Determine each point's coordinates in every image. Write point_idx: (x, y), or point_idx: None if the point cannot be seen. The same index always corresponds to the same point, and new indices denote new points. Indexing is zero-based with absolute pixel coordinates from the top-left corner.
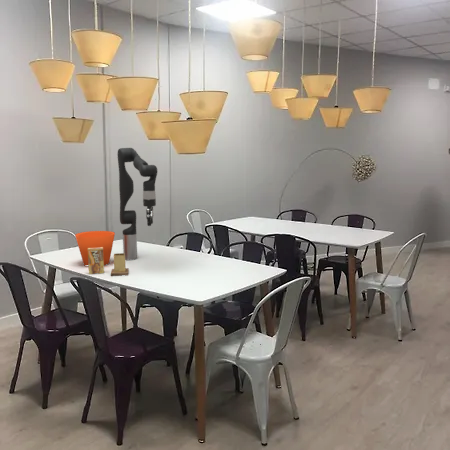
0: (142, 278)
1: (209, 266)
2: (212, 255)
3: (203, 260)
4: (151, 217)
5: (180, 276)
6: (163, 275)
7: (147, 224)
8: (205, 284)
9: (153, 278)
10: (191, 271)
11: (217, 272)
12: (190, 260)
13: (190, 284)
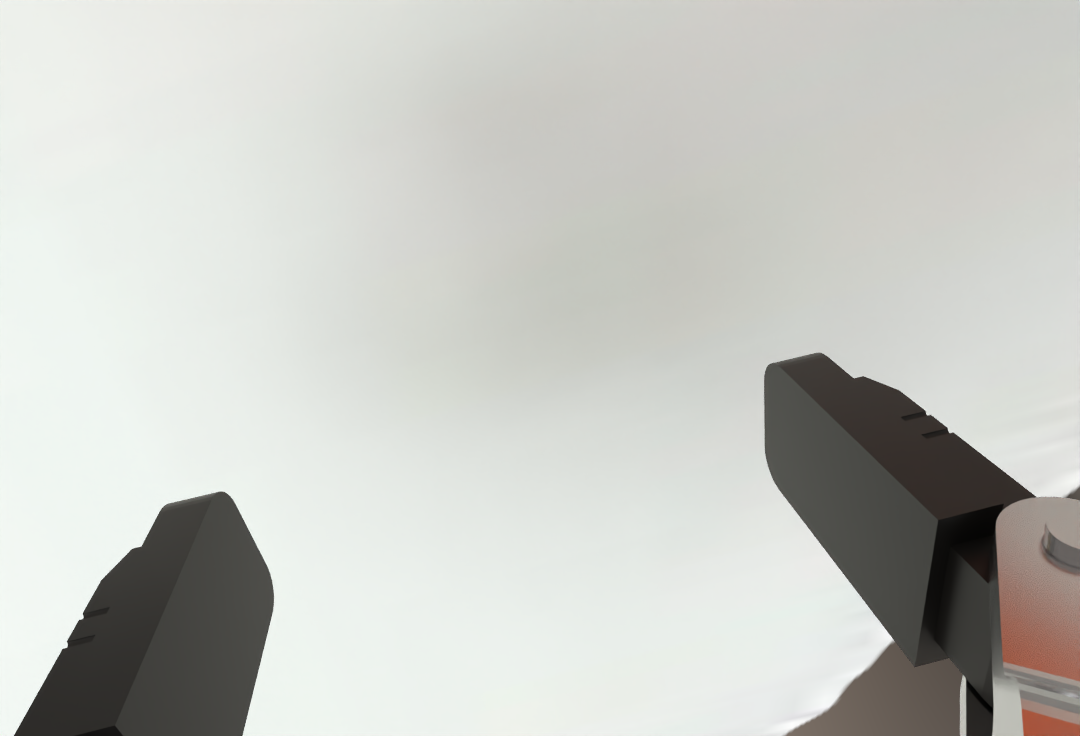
0: (2, 179)
1: (635, 597)
2: None
3: None
4: (946, 638)
5: (243, 506)
6: (227, 358)
7: (149, 534)
8: None
9: (62, 301)
10: (446, 532)
11: (449, 687)
12: None
13: (13, 643)
